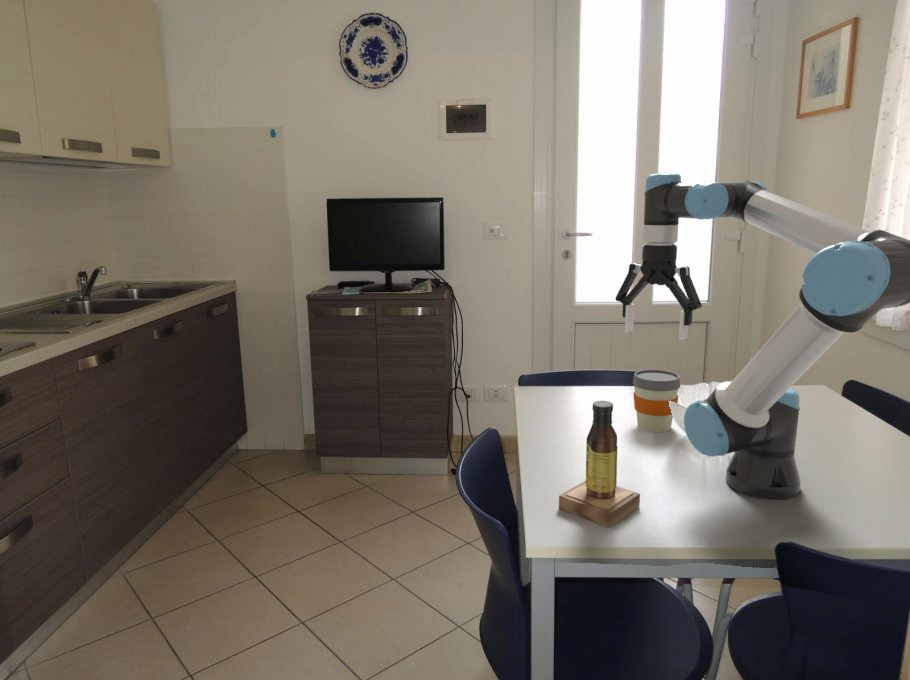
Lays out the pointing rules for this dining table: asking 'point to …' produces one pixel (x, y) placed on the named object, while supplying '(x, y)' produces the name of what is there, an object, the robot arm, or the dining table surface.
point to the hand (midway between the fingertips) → (655, 335)
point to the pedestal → (599, 504)
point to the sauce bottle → (601, 452)
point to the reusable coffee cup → (655, 398)
